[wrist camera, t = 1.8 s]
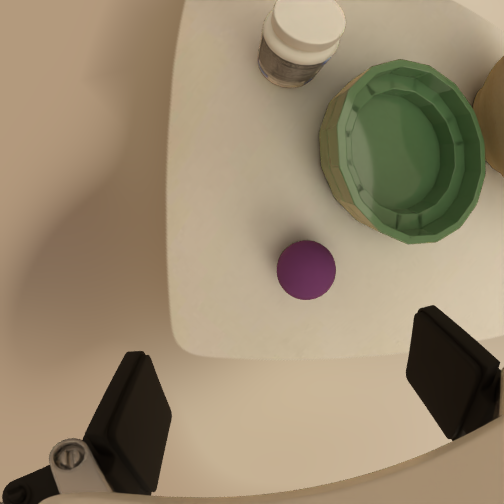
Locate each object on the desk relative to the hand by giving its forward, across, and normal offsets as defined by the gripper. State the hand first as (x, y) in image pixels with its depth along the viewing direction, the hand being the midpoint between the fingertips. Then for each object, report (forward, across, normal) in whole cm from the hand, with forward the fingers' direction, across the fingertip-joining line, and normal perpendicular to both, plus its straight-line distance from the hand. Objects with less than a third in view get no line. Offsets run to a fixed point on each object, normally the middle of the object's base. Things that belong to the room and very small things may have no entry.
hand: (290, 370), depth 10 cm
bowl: (+15, -12, -7) cm, 20 cm away
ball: (+13, -3, +1) cm, 13 cm away
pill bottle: (+15, -4, -15) cm, 22 cm away
